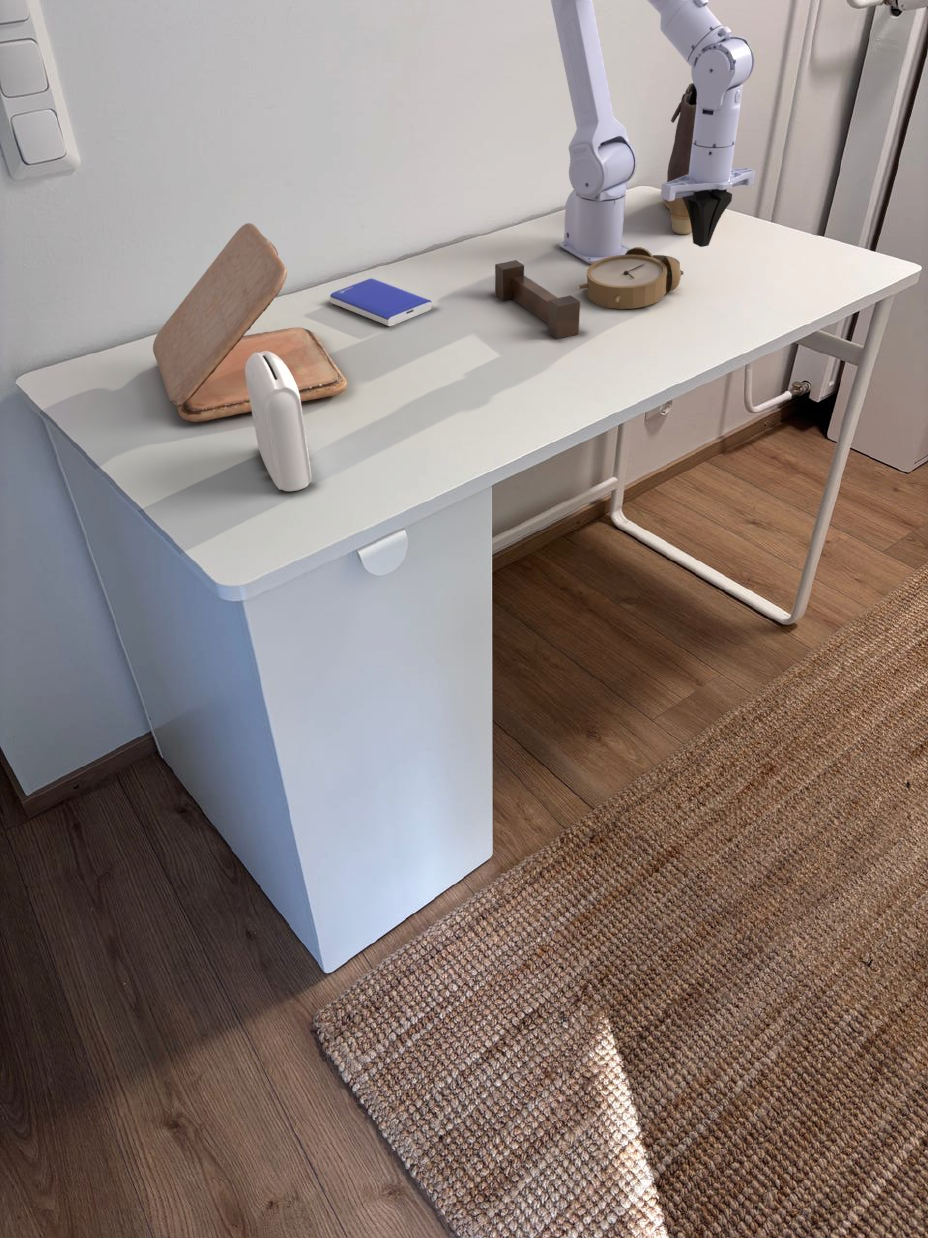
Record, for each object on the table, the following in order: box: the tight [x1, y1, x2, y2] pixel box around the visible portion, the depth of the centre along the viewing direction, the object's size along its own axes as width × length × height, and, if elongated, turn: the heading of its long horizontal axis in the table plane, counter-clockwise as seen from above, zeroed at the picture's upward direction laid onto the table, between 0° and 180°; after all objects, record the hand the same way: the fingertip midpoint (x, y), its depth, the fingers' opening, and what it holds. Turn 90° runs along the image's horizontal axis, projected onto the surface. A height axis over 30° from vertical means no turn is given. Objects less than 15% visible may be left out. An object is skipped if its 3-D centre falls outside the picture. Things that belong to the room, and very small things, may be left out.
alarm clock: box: [578, 246, 684, 310], centre depth 139 cm, size 11×5×15 cm
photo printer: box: [245, 351, 313, 492], centre depth 101 cm, size 10×4×12 cm, turn 22°
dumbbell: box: [494, 259, 581, 340], centre depth 134 cm, size 17×4×4 cm, turn 26°
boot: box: [663, 82, 697, 235], centre depth 160 cm, size 9×24×20 cm, turn 168°
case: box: [152, 222, 348, 423], centre depth 117 cm, size 20×21×16 cm
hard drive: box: [329, 277, 432, 327], centre depth 138 cm, size 2×8×12 cm
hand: (700, 244), depth 141 cm, fingers closed
